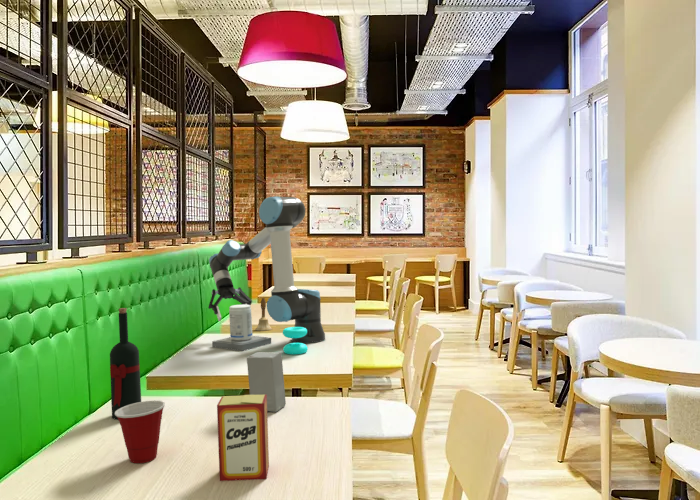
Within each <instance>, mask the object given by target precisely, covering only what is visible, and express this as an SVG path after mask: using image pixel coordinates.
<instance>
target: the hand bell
mask: <svg viewBox="0 0 700 500" xmlns="http://www.w3.org/2000/svg"><path fill="white" fill-rule="evenodd" d="M260 308H261V309H260V310H261V317H260V318H259V319H258V323H257V324H258V325H257V326H256V328H255V331H260V332H261V331H263V332H264V331H271V330H273V328H272V327H271V326H270V324H269V318H267V317H266V309H267V302H266V299H265V297H262V298H261V301H260Z"/></svg>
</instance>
